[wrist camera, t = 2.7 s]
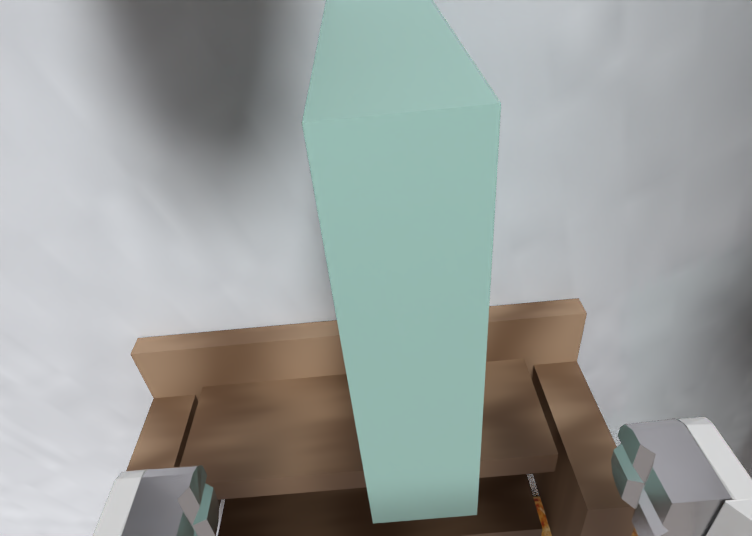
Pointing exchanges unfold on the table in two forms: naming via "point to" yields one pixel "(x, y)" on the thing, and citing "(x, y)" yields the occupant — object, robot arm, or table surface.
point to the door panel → (407, 243)
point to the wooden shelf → (340, 441)
